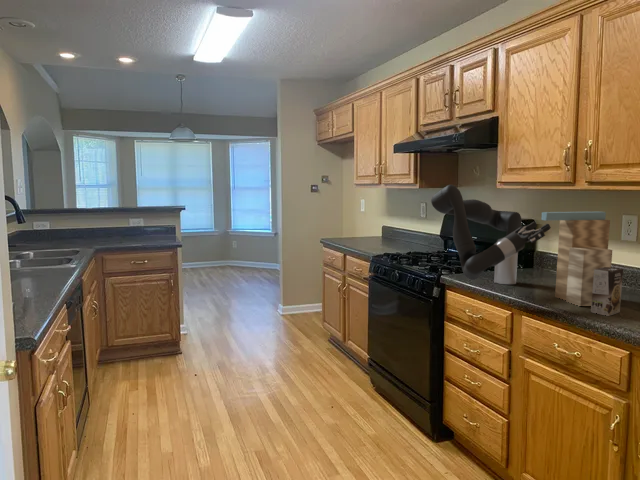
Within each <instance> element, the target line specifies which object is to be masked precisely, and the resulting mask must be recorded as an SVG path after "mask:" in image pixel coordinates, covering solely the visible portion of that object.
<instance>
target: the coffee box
mask: <svg viewBox="0 0 640 480" xmlns="http://www.w3.org/2000/svg"><path fill="white" fill-rule="evenodd" d="M623 276H624V269H623V268H617V267H611V268H609V267H603V268H598V269H594V279H593V291H592V304H591V307H590V313H592V314H596V313H597V315H601V316H605V315H606V317H609V316H612V315H615V314H618V313H619V314H620V312H621V302H622V301H621V300H622V289H623V287H622V286H623Z"/></svg>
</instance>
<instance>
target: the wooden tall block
mask: <svg viewBox="0 0 640 480" xmlns="http://www.w3.org/2000/svg"><path fill="white" fill-rule="evenodd" d="M610 226H611V220H610V219H605V220H559V228H558V229H559V231H558V248H557V262H556V275H555V276H556V277H555V278H556V279H555V291H554V298H557V299H559V298H560V299H559V300H562V299H563V301H565V300H566V295H567V280H568V265H569V249H570V248H580V247H599V248H605V249H609V238H610Z"/></svg>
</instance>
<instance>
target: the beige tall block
mask: <svg viewBox="0 0 640 480" xmlns="http://www.w3.org/2000/svg"><path fill="white" fill-rule="evenodd" d="M612 260H613V249H609V248H608V249H605V248H599V247H580V248H570V249H569V265H568V280H567V295H566V301H565V302H566V303H568V302H569V303H568V304H571V303H572V304H571V305H573V304H575V305H574V306H576V305H578V306H577V307H579V306H591V304H592V291H593V279H594V269H598V268H603V267H609V268H612Z"/></svg>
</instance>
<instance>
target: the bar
mask: <svg viewBox="0 0 640 480" xmlns="http://www.w3.org/2000/svg"><path fill="white" fill-rule="evenodd" d="M606 216H607V212H606V211H550V212H549V211H542V212H541V221H560V220H606Z"/></svg>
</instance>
